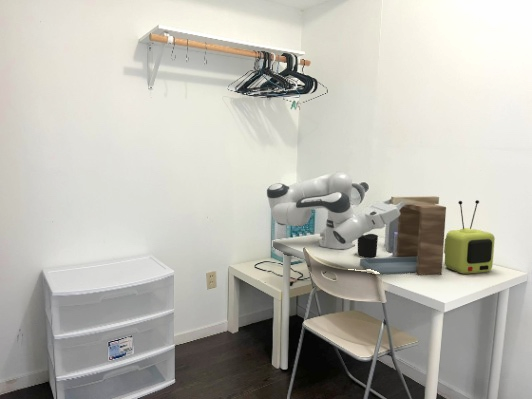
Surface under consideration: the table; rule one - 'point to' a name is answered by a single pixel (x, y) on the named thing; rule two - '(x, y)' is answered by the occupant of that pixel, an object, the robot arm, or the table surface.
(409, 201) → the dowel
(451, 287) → the table surface
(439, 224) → the shelf
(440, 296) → the table surface
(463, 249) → the television
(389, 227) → the hard drive box
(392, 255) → the ink cartridge box
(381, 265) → the tray
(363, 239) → the pen holder
